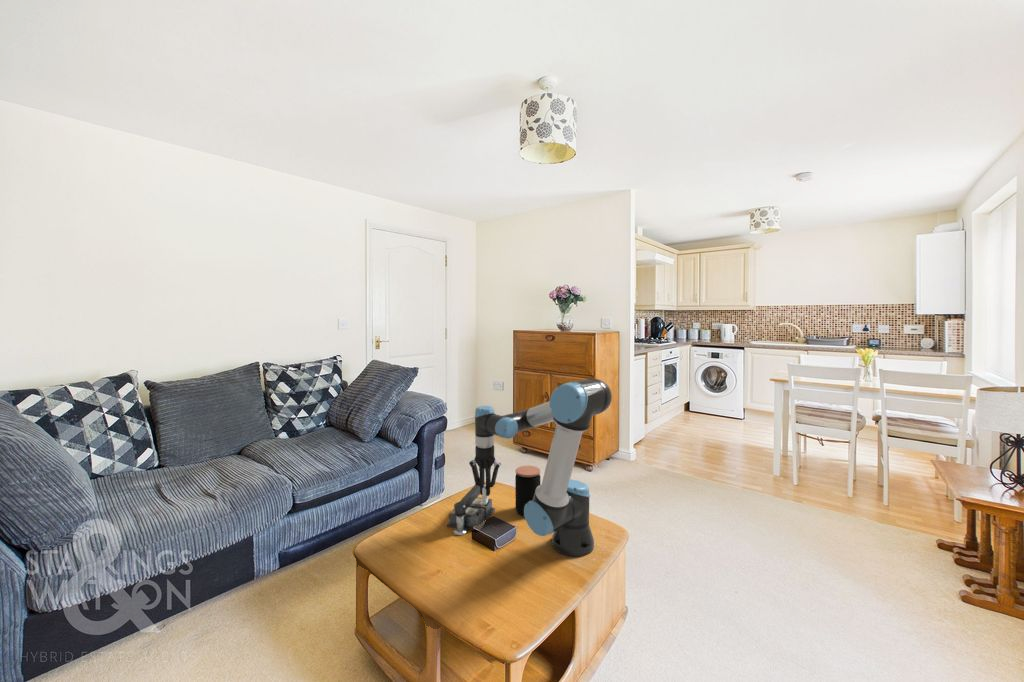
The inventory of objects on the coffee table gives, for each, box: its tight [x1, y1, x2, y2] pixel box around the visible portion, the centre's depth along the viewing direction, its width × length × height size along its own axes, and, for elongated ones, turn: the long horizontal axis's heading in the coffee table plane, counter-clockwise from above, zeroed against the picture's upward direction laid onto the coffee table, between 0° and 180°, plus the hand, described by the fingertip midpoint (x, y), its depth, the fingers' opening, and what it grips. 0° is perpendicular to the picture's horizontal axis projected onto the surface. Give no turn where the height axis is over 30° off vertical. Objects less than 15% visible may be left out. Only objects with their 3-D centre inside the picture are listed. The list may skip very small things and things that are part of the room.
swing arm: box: [453, 483, 481, 516], centre depth 167 cm, size 24×4×4 cm, turn 163°
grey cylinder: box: [453, 515, 468, 537], centre depth 158 cm, size 5×5×7 cm
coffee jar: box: [514, 465, 541, 517], centre depth 174 cm, size 11×11×18 cm
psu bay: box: [446, 496, 496, 531], centre depth 169 cm, size 14×18×6 cm
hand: (485, 502), depth 164 cm, fingers closed
